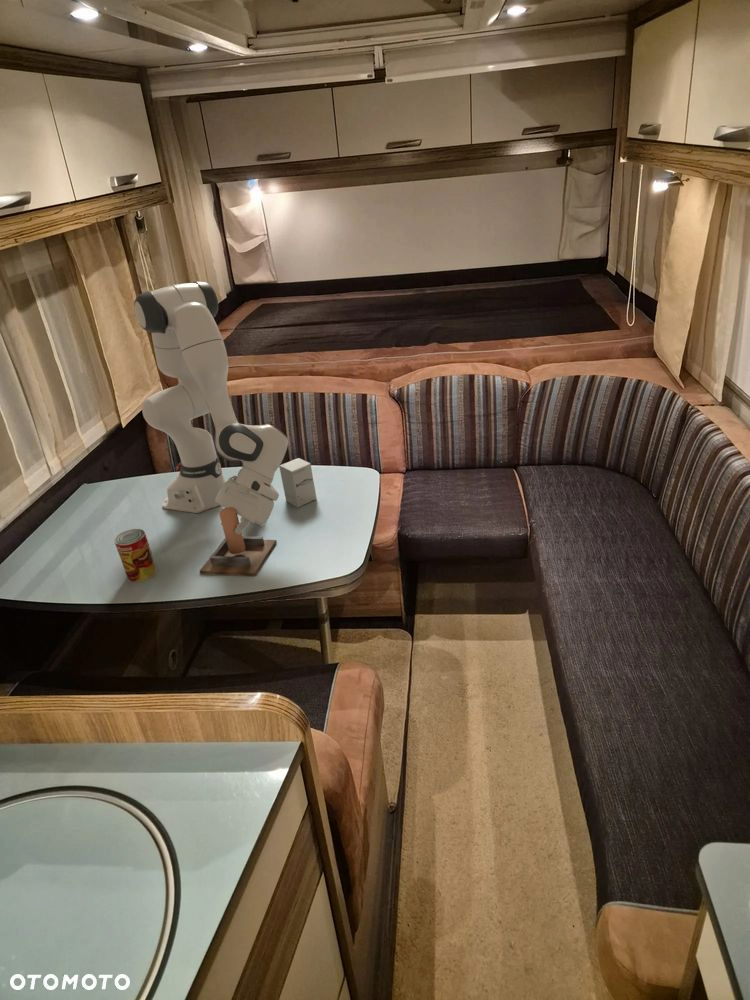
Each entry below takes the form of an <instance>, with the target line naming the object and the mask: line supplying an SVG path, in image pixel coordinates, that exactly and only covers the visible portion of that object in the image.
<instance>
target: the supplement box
mask: <svg viewBox="0 0 750 1000" xmlns="http://www.w3.org/2000/svg"><path fill="white" fill-rule="evenodd" d="M278 468H279V473H280V477H281V482H282V488H283V492H284V496H285V501H286V502H287V503H289V504H291V505H293V506H294V507H296V508H300V507H302V506H304V505H305V504H308V503H310V502H313V501H315V500H316V499H317V494H316V488H315V487H316V486H315V481H314V477H313V469H312V464H311V462H308V461H306V460H304V459H302V458H300V457H298V458H295V459H292V460H290V461H288V462H285V463H281V464H280V466H279V467H278Z"/></svg>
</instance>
